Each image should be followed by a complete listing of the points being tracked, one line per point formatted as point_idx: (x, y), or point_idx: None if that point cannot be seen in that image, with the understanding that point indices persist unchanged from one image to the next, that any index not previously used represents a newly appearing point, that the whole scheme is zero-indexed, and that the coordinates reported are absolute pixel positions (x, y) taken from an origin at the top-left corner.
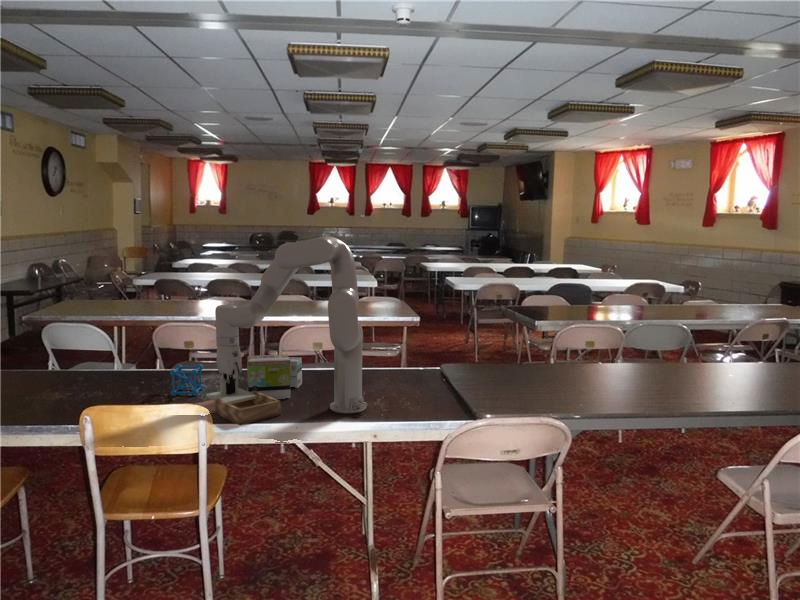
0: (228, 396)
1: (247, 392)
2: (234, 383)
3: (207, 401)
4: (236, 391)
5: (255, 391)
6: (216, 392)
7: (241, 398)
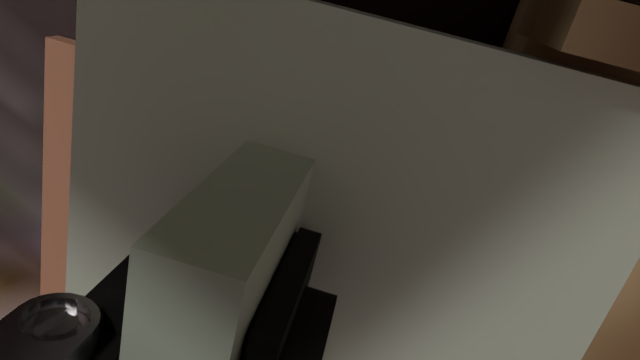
0: (343, 348)
1: (437, 72)
2: (286, 333)
3: (57, 247)
4: (302, 194)
5: (634, 41)
6: (86, 292)
7: (573, 342)
